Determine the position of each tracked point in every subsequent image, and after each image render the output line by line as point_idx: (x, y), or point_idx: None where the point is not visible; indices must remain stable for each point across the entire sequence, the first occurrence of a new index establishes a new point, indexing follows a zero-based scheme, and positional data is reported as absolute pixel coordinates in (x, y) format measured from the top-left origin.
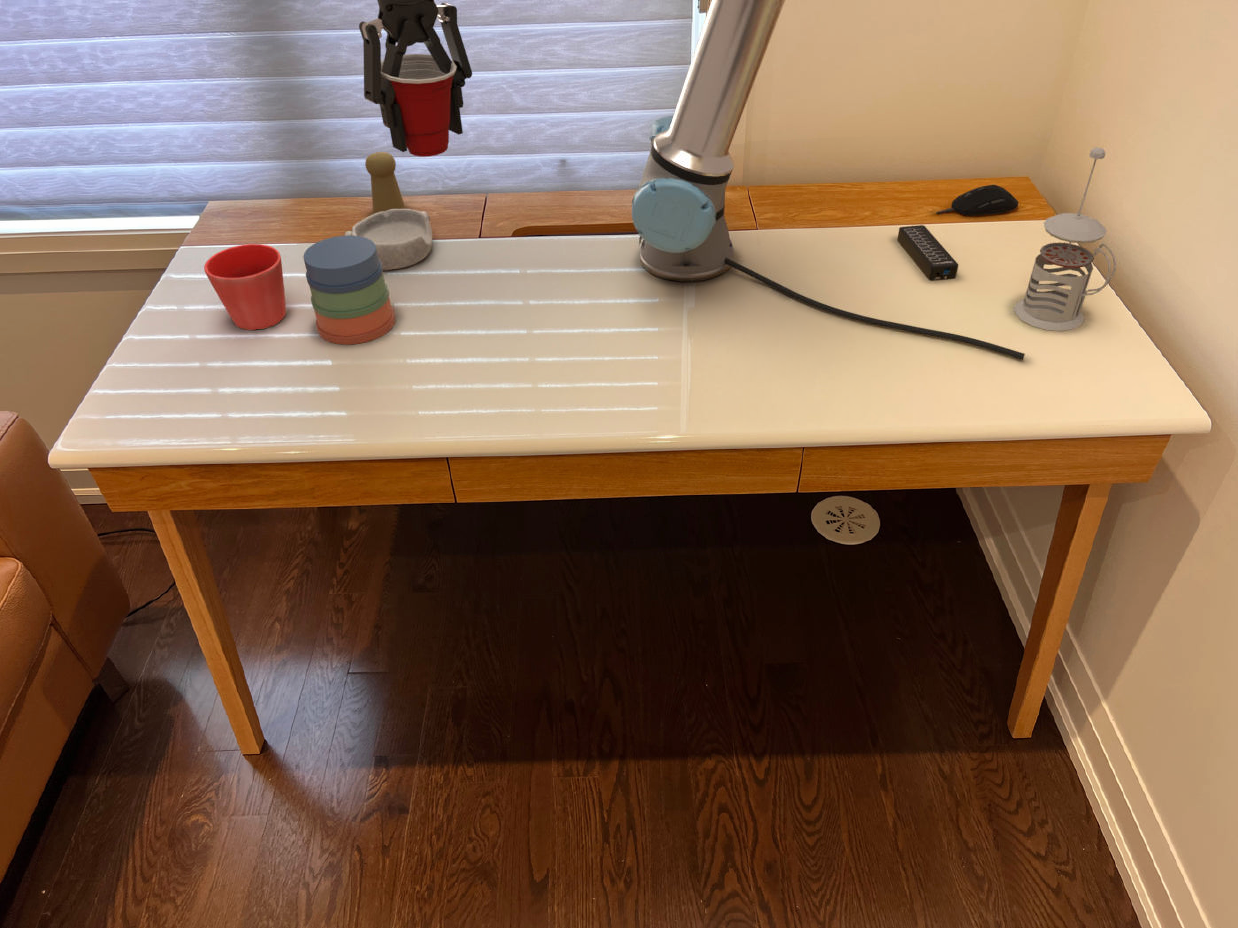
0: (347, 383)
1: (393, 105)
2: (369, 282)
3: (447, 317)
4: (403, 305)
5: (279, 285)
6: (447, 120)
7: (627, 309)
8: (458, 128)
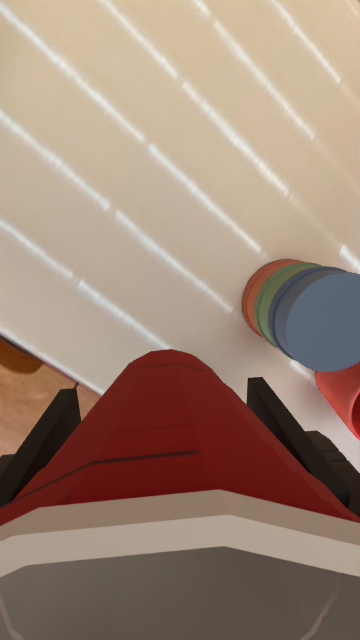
0: (354, 198)
1: (348, 497)
2: (312, 268)
3: (203, 246)
4: (225, 303)
5: (351, 368)
6: (109, 391)
7: (7, 91)
8: (67, 398)
